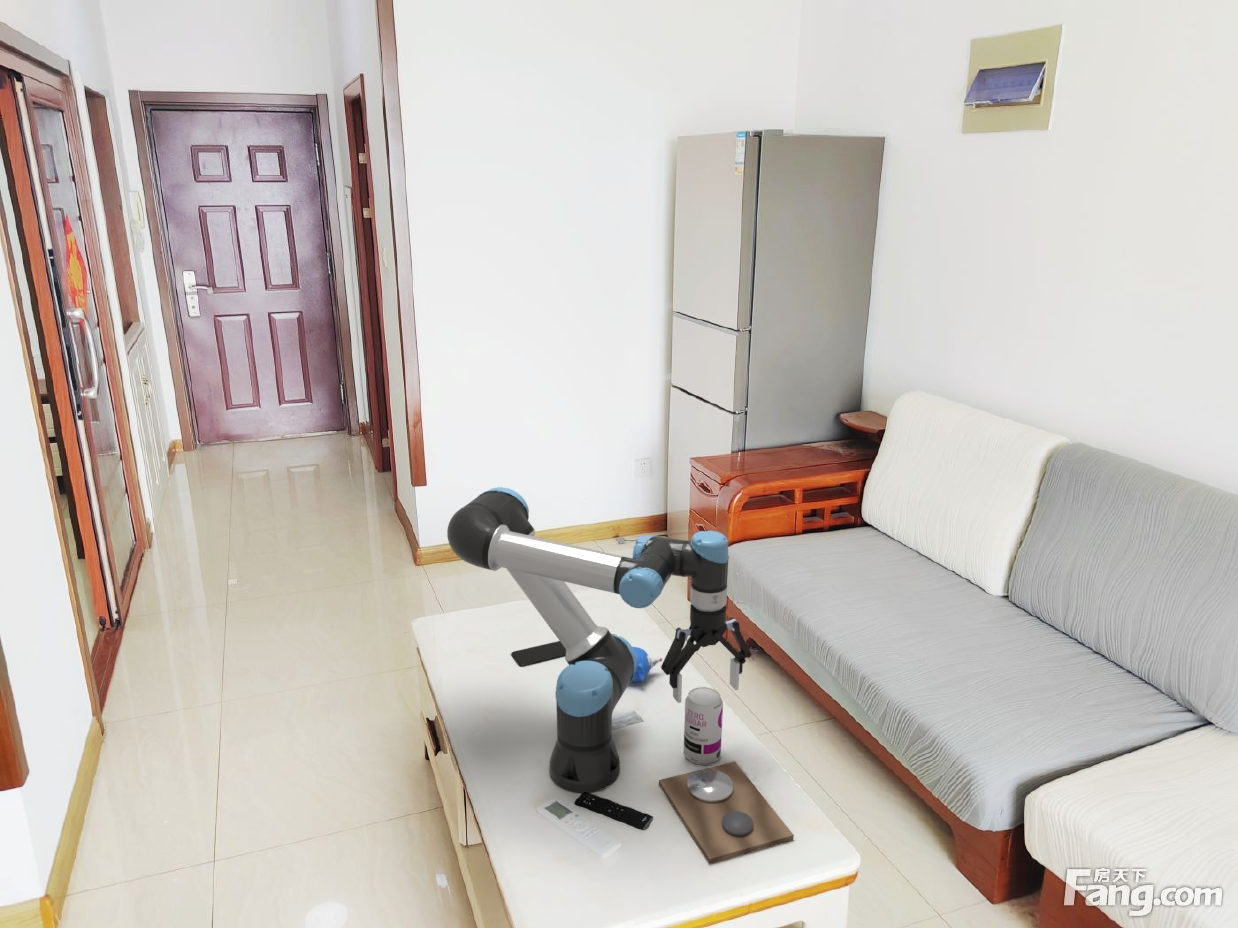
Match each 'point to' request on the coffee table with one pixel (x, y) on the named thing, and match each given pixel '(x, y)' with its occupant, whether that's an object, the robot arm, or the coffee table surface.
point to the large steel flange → (710, 786)
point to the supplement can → (703, 725)
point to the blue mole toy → (643, 664)
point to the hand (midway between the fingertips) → (705, 693)
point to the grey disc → (737, 823)
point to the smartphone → (539, 654)
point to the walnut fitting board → (708, 816)
